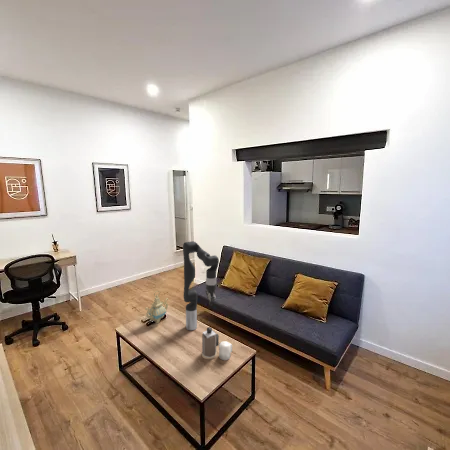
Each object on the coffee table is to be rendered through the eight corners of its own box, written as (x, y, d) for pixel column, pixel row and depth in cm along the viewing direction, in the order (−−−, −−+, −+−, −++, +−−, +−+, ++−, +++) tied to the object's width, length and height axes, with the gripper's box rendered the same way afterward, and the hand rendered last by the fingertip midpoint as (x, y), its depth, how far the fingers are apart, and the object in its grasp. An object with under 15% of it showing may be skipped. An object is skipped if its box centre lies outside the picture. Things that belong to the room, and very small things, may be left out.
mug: (216, 355, 179) (217, 343, 178) (228, 350, 184) (228, 339, 183) (223, 361, 172) (223, 349, 171) (234, 356, 178) (235, 344, 176)
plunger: (205, 350, 180) (205, 328, 178) (210, 348, 182) (210, 326, 180) (208, 353, 177) (208, 330, 175) (212, 351, 179) (212, 329, 177)
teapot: (150, 331, 207) (149, 297, 203) (142, 327, 214) (140, 293, 209) (172, 319, 226) (171, 288, 222) (164, 315, 233) (163, 285, 228)
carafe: (199, 352, 182) (198, 331, 179) (214, 346, 189) (214, 326, 186) (206, 361, 173) (206, 339, 170) (221, 354, 179) (222, 333, 177)
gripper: (202, 280, 184) (202, 302, 187) (211, 287, 173) (210, 310, 176) (211, 278, 188) (211, 300, 191) (220, 285, 177) (220, 307, 180)
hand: (210, 305), depth 183 cm, fingers closed
